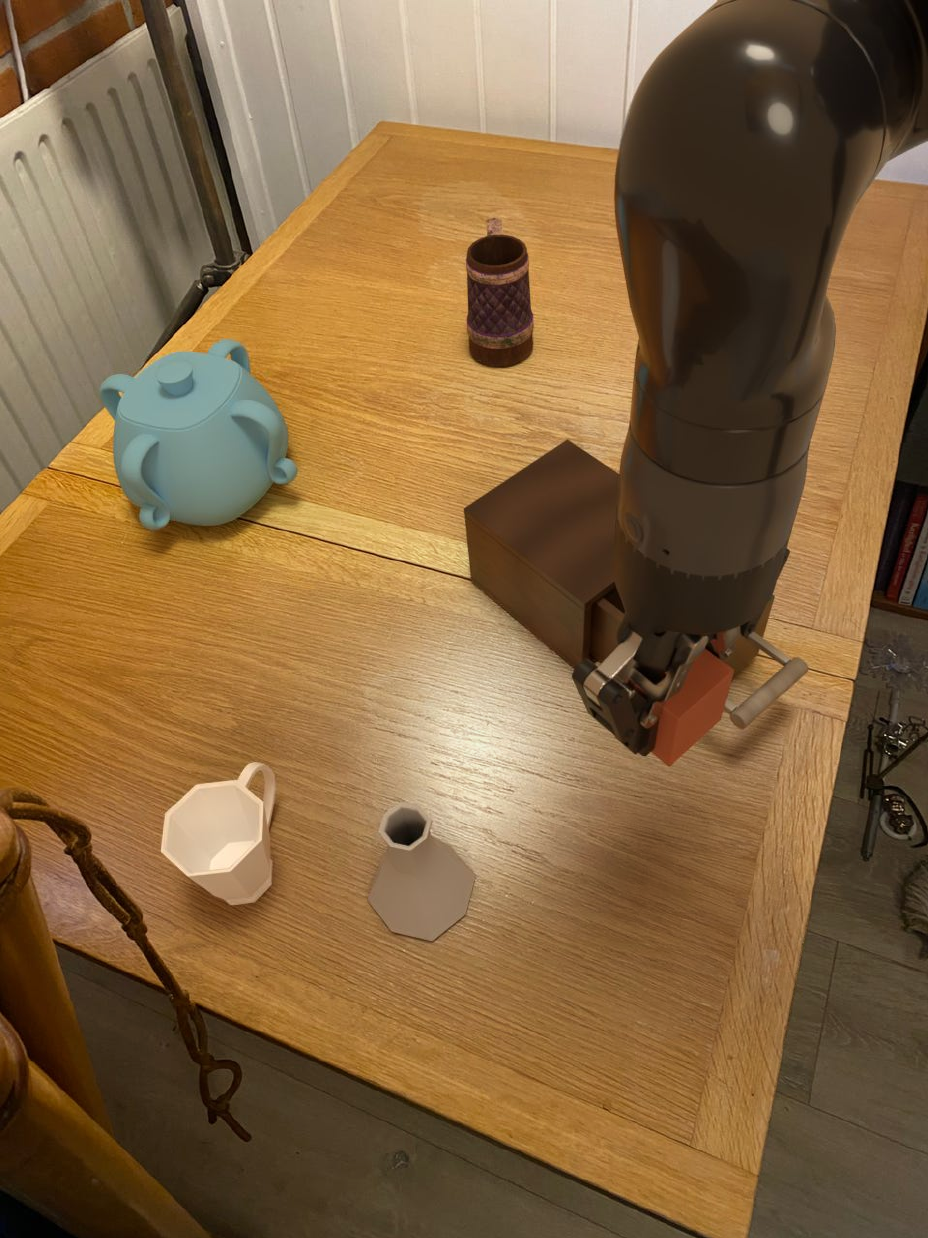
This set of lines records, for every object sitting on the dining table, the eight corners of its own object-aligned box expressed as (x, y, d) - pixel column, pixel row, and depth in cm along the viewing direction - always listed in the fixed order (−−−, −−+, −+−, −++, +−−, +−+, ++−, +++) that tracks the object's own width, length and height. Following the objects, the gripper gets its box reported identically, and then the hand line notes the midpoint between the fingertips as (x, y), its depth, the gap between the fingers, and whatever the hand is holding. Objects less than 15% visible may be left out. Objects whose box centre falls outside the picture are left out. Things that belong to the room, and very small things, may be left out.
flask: (436, 961, 63) (419, 904, 55) (349, 906, 66) (322, 843, 58) (493, 872, 67) (486, 807, 59) (409, 823, 70) (391, 754, 62)
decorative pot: (127, 450, 98) (74, 338, 87) (281, 411, 99) (247, 296, 89) (141, 563, 88) (83, 452, 77) (311, 517, 90) (277, 402, 79)
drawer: (809, 692, 73) (832, 634, 67) (720, 774, 69) (735, 721, 63) (640, 568, 82) (647, 508, 76) (552, 635, 78) (553, 578, 72)
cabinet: (679, 597, 81) (691, 522, 74) (581, 675, 76) (584, 603, 69) (566, 514, 88) (567, 438, 80) (470, 581, 83) (463, 508, 76)
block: (661, 673, 57) (669, 621, 53) (721, 719, 55) (734, 669, 51) (609, 718, 55) (613, 668, 51) (669, 768, 53) (678, 719, 49)
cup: (177, 909, 67) (138, 862, 60) (239, 786, 72) (209, 730, 66) (268, 937, 65) (237, 890, 59) (323, 808, 71) (301, 753, 64)
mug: (535, 367, 101) (533, 264, 92) (468, 370, 101) (459, 268, 92) (532, 310, 107) (530, 208, 98) (469, 313, 108) (461, 212, 98)
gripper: (659, 649, 37) (629, 840, 50) (877, 465, 42) (797, 683, 55) (524, 547, 40) (530, 750, 54) (740, 389, 46) (696, 611, 59)
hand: (666, 715), depth 55 cm, fingers closed on block, 4 cm apart
